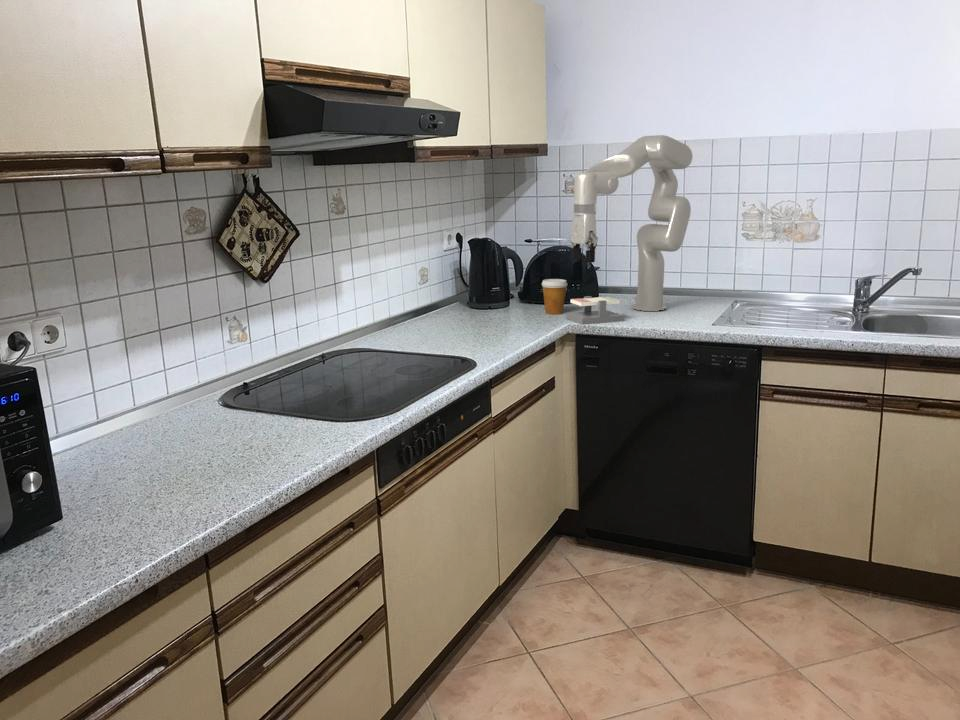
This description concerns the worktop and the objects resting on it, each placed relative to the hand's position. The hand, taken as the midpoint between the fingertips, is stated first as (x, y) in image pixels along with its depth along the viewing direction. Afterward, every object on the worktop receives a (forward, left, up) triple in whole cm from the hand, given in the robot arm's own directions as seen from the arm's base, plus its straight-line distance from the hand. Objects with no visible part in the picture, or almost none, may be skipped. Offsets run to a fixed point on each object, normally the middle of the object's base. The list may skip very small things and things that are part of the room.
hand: (583, 260), depth 267 cm
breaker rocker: (0, +5, -14) cm, 15 cm away
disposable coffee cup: (-18, -2, -21) cm, 28 cm away
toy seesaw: (0, +5, -21) cm, 22 cm away
